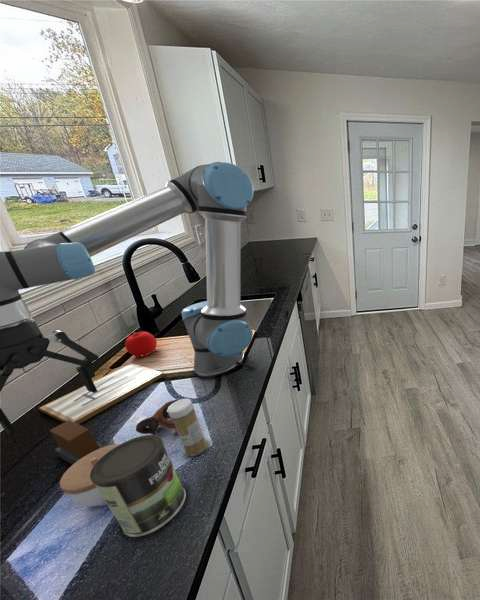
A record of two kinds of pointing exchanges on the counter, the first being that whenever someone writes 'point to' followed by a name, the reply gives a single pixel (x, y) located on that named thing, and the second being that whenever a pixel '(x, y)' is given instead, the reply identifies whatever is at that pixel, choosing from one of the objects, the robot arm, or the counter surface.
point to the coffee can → (139, 485)
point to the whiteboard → (101, 394)
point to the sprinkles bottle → (187, 427)
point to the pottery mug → (157, 421)
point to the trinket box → (84, 480)
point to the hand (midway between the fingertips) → (55, 409)
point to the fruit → (140, 344)
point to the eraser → (74, 441)
